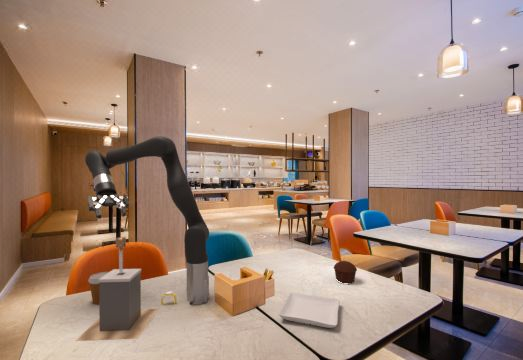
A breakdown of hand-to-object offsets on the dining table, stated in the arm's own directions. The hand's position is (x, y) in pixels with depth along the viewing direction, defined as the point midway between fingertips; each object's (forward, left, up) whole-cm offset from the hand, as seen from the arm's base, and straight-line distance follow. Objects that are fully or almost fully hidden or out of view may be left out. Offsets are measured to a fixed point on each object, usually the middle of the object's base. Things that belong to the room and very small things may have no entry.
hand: (112, 216), depth 105 cm
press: (-7, +8, -38) cm, 39 cm away
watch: (-20, -6, -39) cm, 44 cm away
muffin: (-104, -28, -39) cm, 115 cm away
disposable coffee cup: (+10, -11, -39) cm, 42 cm away
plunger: (-7, +8, -27) cm, 30 cm away
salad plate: (-78, +4, -39) cm, 88 cm away
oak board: (-7, +8, -39) cm, 40 cm away
